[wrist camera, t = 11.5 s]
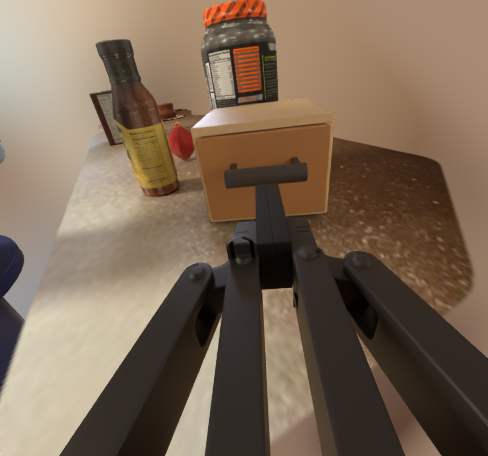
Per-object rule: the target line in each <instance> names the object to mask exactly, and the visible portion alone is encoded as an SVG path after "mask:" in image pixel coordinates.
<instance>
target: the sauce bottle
mask: <svg viewBox="0 0 488 456" xmlns="http://www.w3.org/2000/svg"><path fill="white" fill-rule="evenodd" d="M96 47H97V51H98V54H99V56H100V57H101V59H102V60H103V62H104V65H105V68H106V71H107V73H108V76H109V80H110V83H111V89H112V107H113V118H114V121H115V124H116V126H117V128H118V131H119V134H120V136H121V139H122V141H123V144H124V146H125V149H126V151H127V154H128V157H129V159H130V162H131V165H132V167H133V170H134V172H135V175H136V177H137V180H138V183H139V185H140V186H141V188H142V190H143V192H144V193H145V194H146V195H148V196H159V195H165V194H169V193H171V192H172V191H174V190H175V189H177V188H178V187H179V181H178V178H177V177H178V174H177V170H176V167H175V163H174V160H173V156H172V153H171V149H170V146H169V142H168V139H167V135H166V132H165V128H164V125H163V121H162V119H161V117H160V114H159V110H158V107H157V104H156V101H155V99H154V98H153V96H152V95H151V94H150V93H149V91H148V90H147V89H146V88H145V87H144V86H143V85H142V83H141V77H140V76H139V74H138V70H137V67H136V63H135V60H134V57H133V56H134V53H133V49H132V45H131V42H130V40H126V39H117V40H105V41H100V42H97V43H96Z"/></svg>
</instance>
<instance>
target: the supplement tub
mask: <svg viewBox="0 0 488 456" xmlns="http://www.w3.org/2000/svg"><path fill="white" fill-rule="evenodd" d="M203 16H204V26H205V28H206V34H205V36H204V38H203V41H202V44H201V55H202V61H203V66H204V72H205V77H206V83H207V88H208V95H209V100H210V105H211V111H212V110H213V109H218V108H226V107H235V106H243V105H251V104H259V103H267V102H275V101H278V79H277V59H276V41H275V36H274V33H273V31H272V29H271V28H270V27H269V25H268V24H267V19H266V18H267V13H266V7H265V3H264V2H263V1H261V0H237V1H231V2H226V3H222V4H218V5H215V6H212V7H210V8H208V9H206V10H205V11H204V13H203Z"/></svg>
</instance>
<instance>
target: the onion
mask: <svg viewBox="0 0 488 456" xmlns="http://www.w3.org/2000/svg"><path fill="white" fill-rule="evenodd" d="M168 142H169V146H170V149H171V152H172V153H173V154H175V155H176V156H178V157H180V158H181V159H183V160H188V159H189V157H190V156H191V155H192V153H193V152H194V150H195V149H194V144H193V139H192V135H191V132H190V131H189V130H187V129H186V128H184V127H182V126H181V125H180V123H178V122H177V123H176V124H175V127H174V129H173V130H172V131H171V132H170V134H169V138H168Z"/></svg>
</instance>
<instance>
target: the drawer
mask: <svg viewBox="0 0 488 456" xmlns="http://www.w3.org/2000/svg"><path fill="white" fill-rule="evenodd" d="M330 133H331V125H329V124H318V125H315V124H311V125H302V126H293V127H285V128H276V129H267V130H258V131H249V132H241V133H232V134H223V135H214V136H209V137H204V138H198V139H197V140H196V144H197V149H198V154H199V158H200V163H201V168H202V173H203V177H204V182H205V187H206V191H207V196H208V201H209V205H210V210H211V215H212V220H213V221H214V220H226V219H238V218H250V217H256V206H255V185H263V184H274V183H278V186H279V190H280V194H281V199H282V203H283V207H284V211H285V215H287V214H299V213H311V212H323V211H325V199H326V186H327V173H328V159H329V146H330Z"/></svg>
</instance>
